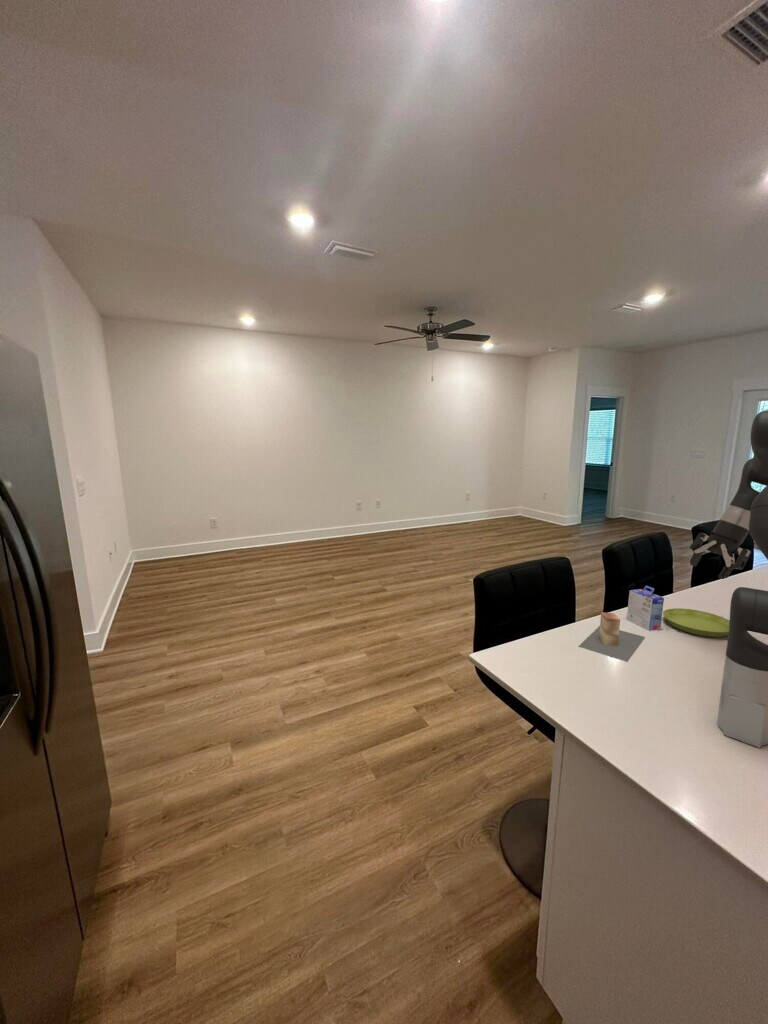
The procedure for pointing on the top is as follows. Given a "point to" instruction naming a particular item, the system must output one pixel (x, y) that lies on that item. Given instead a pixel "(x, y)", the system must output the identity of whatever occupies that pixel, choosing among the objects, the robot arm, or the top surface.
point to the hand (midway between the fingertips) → (706, 571)
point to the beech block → (609, 629)
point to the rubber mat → (622, 651)
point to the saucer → (697, 622)
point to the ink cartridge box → (645, 609)
